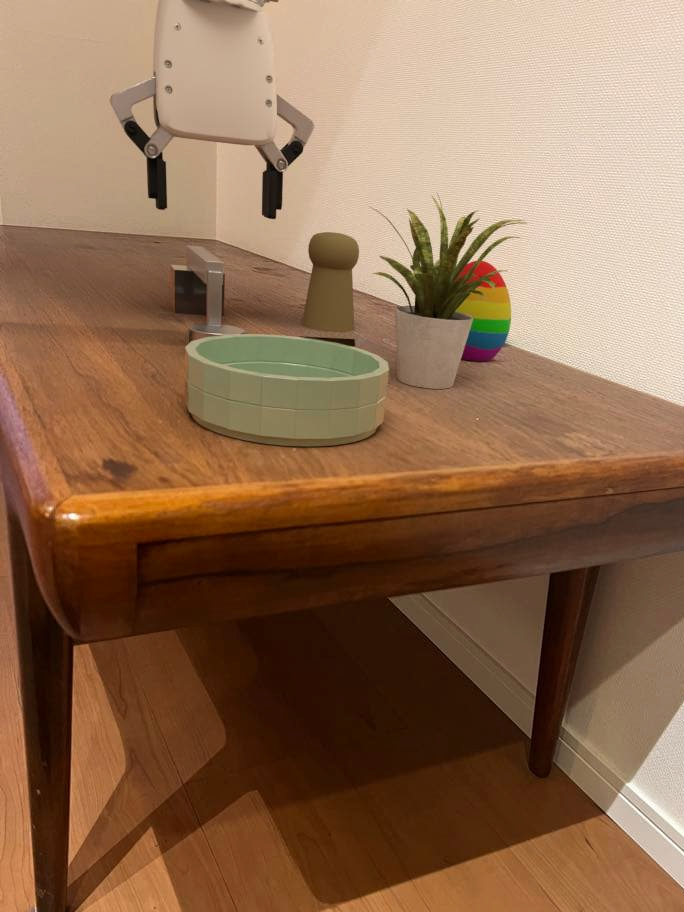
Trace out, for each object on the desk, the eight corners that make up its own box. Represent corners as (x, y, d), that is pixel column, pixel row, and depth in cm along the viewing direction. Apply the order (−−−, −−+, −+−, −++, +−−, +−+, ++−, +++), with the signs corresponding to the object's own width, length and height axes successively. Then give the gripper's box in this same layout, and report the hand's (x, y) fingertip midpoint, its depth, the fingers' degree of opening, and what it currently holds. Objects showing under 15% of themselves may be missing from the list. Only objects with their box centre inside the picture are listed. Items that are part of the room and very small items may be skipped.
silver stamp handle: (170, 321, 84) (169, 243, 81) (217, 324, 86) (218, 248, 83) (192, 360, 69) (192, 265, 66) (248, 362, 71) (251, 269, 68)
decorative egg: (518, 361, 87) (535, 267, 82) (473, 367, 81) (488, 266, 77) (462, 345, 91) (475, 256, 87) (415, 349, 86) (427, 254, 82)
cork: (317, 348, 80) (324, 234, 75) (288, 336, 84) (294, 227, 80) (365, 347, 84) (376, 238, 79) (336, 335, 88) (344, 231, 83)
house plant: (540, 391, 74) (575, 205, 67) (471, 414, 63) (505, 195, 57) (415, 360, 81) (436, 188, 74) (332, 376, 70) (348, 176, 63)
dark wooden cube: (174, 329, 81) (174, 269, 78) (170, 321, 84) (170, 264, 82) (223, 331, 82) (224, 273, 80) (217, 324, 86) (218, 268, 83)
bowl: (200, 448, 48) (201, 376, 46) (175, 389, 60) (175, 329, 58) (410, 447, 53) (418, 382, 51) (349, 393, 65) (354, 338, 63)
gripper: (306, 13, 70) (299, 218, 77) (101, -24, 64) (113, 202, 71) (329, 0, 64) (319, 224, 71) (104, -43, 58) (117, 207, 65)
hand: (216, 213), depth 71 cm, fingers open, 9 cm apart
